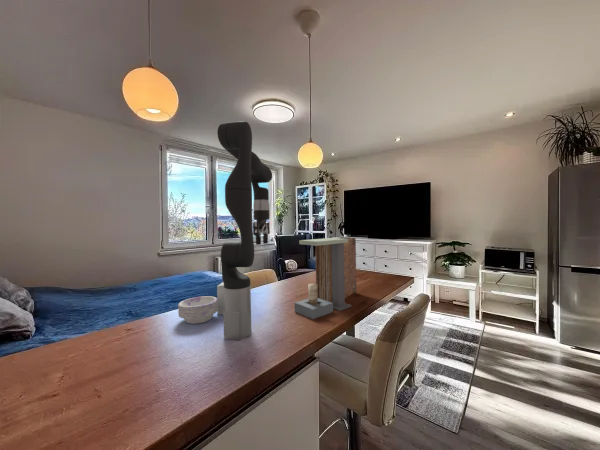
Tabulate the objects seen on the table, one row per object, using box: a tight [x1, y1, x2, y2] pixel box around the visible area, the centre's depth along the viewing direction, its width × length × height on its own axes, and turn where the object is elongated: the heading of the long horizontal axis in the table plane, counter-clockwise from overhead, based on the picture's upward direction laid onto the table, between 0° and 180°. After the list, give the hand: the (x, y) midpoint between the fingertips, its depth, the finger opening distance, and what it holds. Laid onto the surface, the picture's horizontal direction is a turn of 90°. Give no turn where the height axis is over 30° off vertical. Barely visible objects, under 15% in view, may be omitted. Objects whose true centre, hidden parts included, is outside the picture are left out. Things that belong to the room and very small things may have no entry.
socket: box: [293, 298, 334, 320], centre depth 109 cm, size 12×12×4 cm
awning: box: [298, 237, 352, 312], centre depth 111 cm, size 11×22×32 cm, turn 129°
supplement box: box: [216, 281, 224, 315], centre depth 112 cm, size 7×7×13 cm
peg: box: [307, 283, 318, 306], centre depth 109 cm, size 4×4×12 cm
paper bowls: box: [177, 295, 218, 325], centre depth 103 cm, size 15×15×8 cm
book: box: [314, 236, 358, 303], centre depth 129 cm, size 25×9×30 cm, turn 140°
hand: (262, 243), depth 118 cm, fingers open, 8 cm apart
